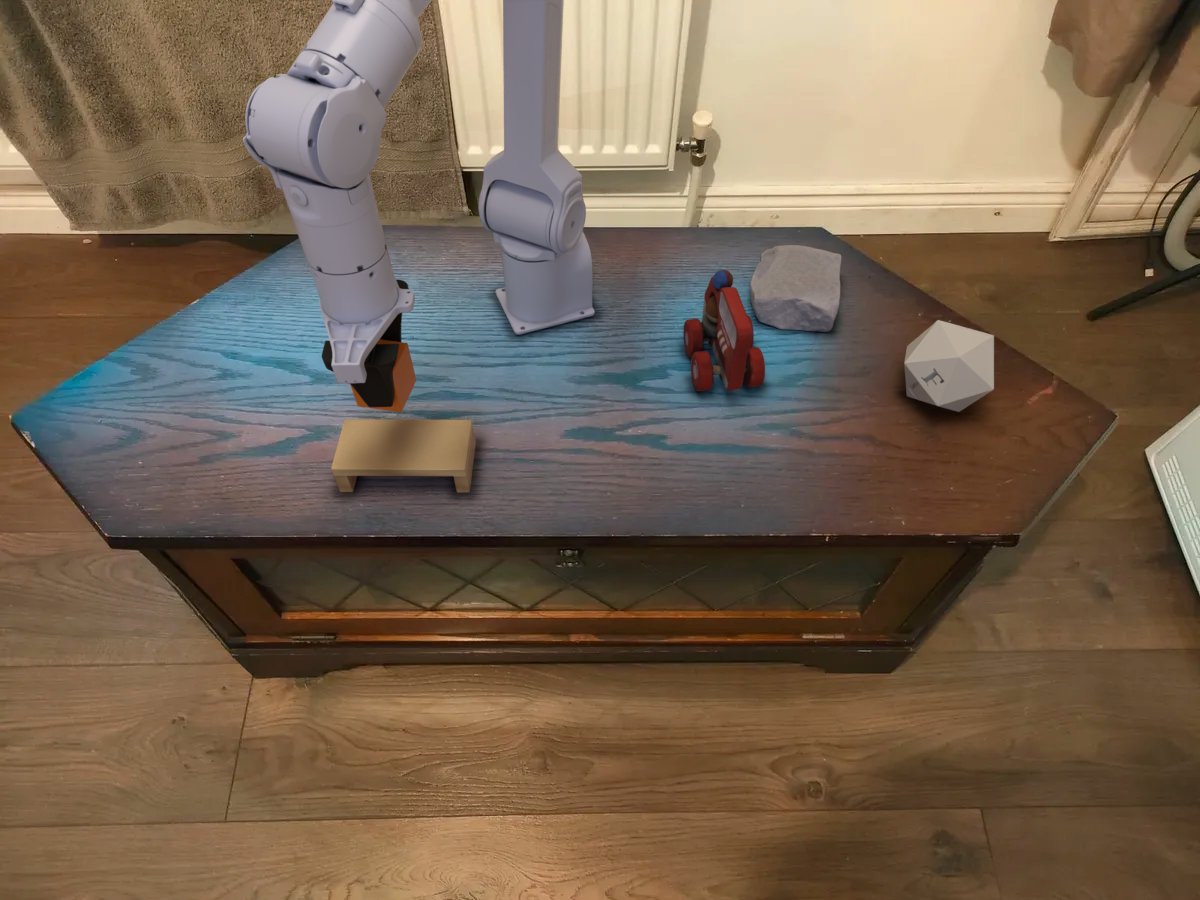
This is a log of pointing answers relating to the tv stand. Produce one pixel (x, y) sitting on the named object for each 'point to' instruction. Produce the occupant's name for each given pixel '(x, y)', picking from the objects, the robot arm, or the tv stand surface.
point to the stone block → (797, 288)
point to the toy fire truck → (723, 339)
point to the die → (950, 366)
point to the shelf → (404, 450)
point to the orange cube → (397, 379)
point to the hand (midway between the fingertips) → (384, 382)
